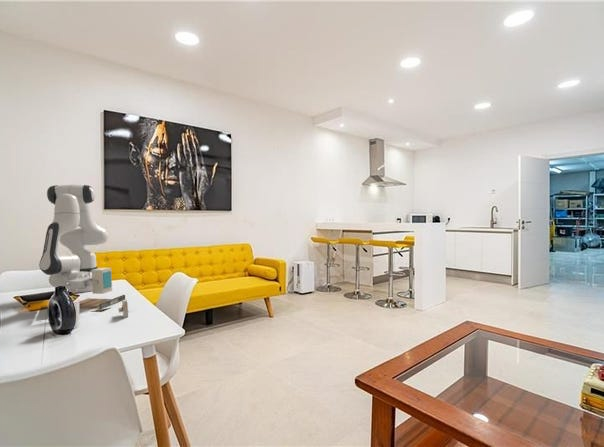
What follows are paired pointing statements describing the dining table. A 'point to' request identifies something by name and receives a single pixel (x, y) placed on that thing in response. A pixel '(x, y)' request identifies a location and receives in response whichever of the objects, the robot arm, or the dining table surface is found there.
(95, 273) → the carton
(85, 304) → the shelf plank
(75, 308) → the white cup
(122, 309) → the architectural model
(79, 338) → the dining table surface
